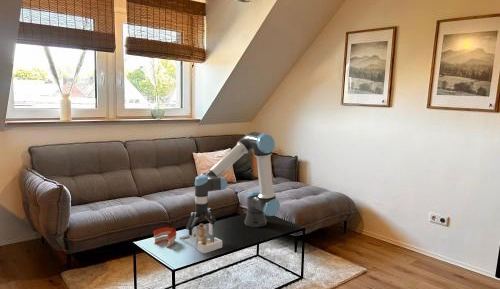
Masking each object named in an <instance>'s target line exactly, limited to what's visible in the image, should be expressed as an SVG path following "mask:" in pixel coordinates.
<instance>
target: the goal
mask: <svg viewBox="0 0 500 289" xmlns="http://www.w3.org/2000/svg"><path fill="white" fill-rule="evenodd" d="M196 246H197V251H199V252H201V253H202V254H207V253H210V252H213V251H215V250H218V249H222V248H223V240H222V239H220V238H217V237H213V243H211V244H208V245H205V246H204V245H202V244H200V243H197V242H196Z"/></svg>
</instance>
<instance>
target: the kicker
mask: <svg viewBox="0 0 500 289" xmlns="http://www.w3.org/2000/svg"><path fill="white" fill-rule="evenodd" d="M196 234H197V236H196V244H197V243H200V244H202V245H204V246H205V245H206V243H207V242H209V241H210V242H212V241H211V238H207V226H206V225H204V223H199V225H197V226H196Z"/></svg>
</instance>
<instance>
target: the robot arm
mask: <svg viewBox="0 0 500 289" xmlns="http://www.w3.org/2000/svg"><path fill="white" fill-rule="evenodd" d="M275 145H276V143H275V139H274V138H273V136H271V135H270V134H267V133H266V132H258V131H252V132H249V133H247V134H245V135H244V136H243V137H241V138H240V139H239V140H238V141H237V143H236V145H235V146H234V147H233V148H232V149H230V151H229V152H227V153H226V154H225V155H224V156H223V157H222V158H221V159H220V160H218V161H217V162H216V163H215V164H214V165H213V166H212V167H211V168H210V169H209V170H207V171H206V172H202V173H201V174H200V175H198V176H195V177H194V178H195V180H194V202H195V203H194V208H195V209H194V210H195V211H194V212H193V211H192V212H190V214H189V215H190V217H189V219H188V220H187V223H186V226H185V229H186V230H188V235H190V237H189V240H190V241H192V242H194V240H195V238H194V237H195V235H194V233H195V232H194V230H195V229H194V227H195V226H196V224H197V223H198V221H200V219H204V218H205V219H206V220H207V222H209V223H208V235H211V236H213V229H214V225H215V224H216V223H217V220H216V218H215V215H214V213H213V209H212V208H211V207H209V192H216V191H217V192H218V191H223V190H226V189H227V187H228V181H227V179H226V177H224V176H222V175H223V174H224V173H225V172H226V171H228V169H229V168H231V167H232V166H233V165H234V164H235V163H236V162H237V161H238V160H240V158H241V157H243V155H245V154H248V153H249V152H250V151H253V156H254V157H255V158H256V165H257V166H256V167H257V175H258V186H259V189H257V190H256V189H255V190H250V191H248V192H247V197H246V198H247V208H246V209H247V210H246V211H247V212H246V216H245V219H244V224H245V226H246V227H247V226H248V227H251V228H261V227H265V226H266V225H267V218H266V216H267V217H272V216H275V215H276V214H277V213H278V212H279V210H280V207H281V203H280V201H279V200H278V199H277V197H276V195H277V194H276V193H275V192H274V187H273V186H274V185H273V177H272V176H273V175H272V164H271V156H272V155H273V151H274V148H275V147H276V146H275Z"/></svg>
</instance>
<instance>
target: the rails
mask: <svg viewBox="0 0 500 289" xmlns="http://www.w3.org/2000/svg"><path fill="white" fill-rule="evenodd" d="M194 237H197V232H194ZM188 238H190V235H189V234H186V235H182V236H179V238H178V240H180V241H182V242H183V243H186V244H188V245H190V246H191V247H193V248H195V249H197V245H195V244H193V243H191V242H189V241H187V240H185V239H188ZM211 242H212V243H214V241H211Z"/></svg>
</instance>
